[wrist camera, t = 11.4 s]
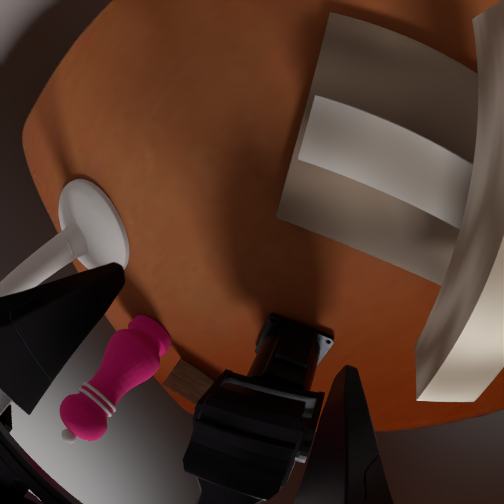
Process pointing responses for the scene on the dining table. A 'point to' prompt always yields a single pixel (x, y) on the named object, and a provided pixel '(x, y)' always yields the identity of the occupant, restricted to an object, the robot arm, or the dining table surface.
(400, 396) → the dining table surface
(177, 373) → the wood plank
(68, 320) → the robot arm
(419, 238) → the ridge stand
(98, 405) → the pepper mill
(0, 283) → the candlestick
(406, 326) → the dining table surface
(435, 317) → the cream beige bar
